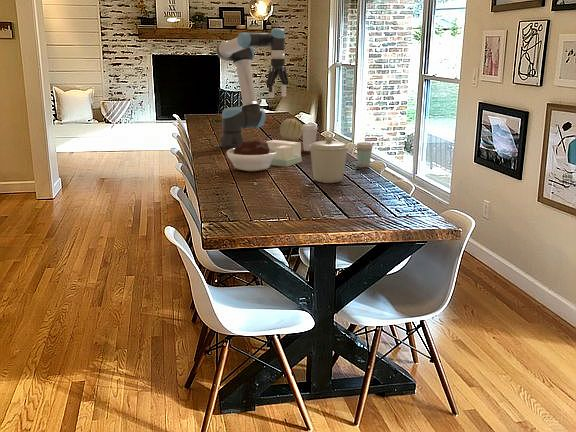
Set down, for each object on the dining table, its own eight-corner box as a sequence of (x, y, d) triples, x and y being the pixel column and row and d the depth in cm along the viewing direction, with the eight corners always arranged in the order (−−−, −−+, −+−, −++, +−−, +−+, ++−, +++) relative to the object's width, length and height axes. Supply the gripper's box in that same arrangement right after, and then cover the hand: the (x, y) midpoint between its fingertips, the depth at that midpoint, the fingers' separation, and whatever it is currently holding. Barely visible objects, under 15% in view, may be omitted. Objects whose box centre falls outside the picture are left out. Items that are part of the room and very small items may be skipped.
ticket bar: (265, 155, 351) (265, 141, 349) (273, 153, 358) (273, 139, 356) (293, 159, 343) (293, 144, 340) (300, 156, 349) (300, 142, 347)
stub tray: (266, 164, 328) (266, 158, 327) (281, 159, 341) (281, 153, 340) (286, 166, 322) (286, 160, 321) (301, 161, 335) (301, 156, 334)
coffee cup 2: (373, 165, 326) (374, 142, 323) (369, 168, 319) (371, 145, 315) (357, 164, 329) (358, 141, 326) (353, 167, 321) (354, 144, 318)
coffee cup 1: (315, 152, 364) (316, 126, 360) (299, 151, 366) (300, 125, 362) (318, 149, 373) (318, 124, 369) (302, 148, 375) (303, 123, 371)
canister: (336, 187, 278) (337, 139, 272) (301, 182, 287) (301, 136, 281) (354, 180, 292) (355, 134, 287) (320, 175, 302) (321, 131, 296)
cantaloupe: (276, 142, 398) (276, 118, 394) (284, 139, 412) (285, 116, 407) (297, 143, 393) (298, 119, 389) (306, 140, 406) (306, 117, 402)
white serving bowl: (238, 176, 297) (238, 145, 293) (219, 167, 318) (218, 138, 314) (285, 172, 308) (285, 141, 304) (263, 163, 330) (263, 135, 325)
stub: (274, 162, 329) (274, 147, 327) (282, 160, 336) (282, 145, 334) (284, 163, 326) (284, 148, 324) (292, 161, 333) (292, 146, 331)
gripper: (271, 58, 334) (271, 99, 339) (294, 57, 354) (294, 95, 360) (259, 58, 337) (260, 98, 343) (283, 57, 358) (283, 95, 364)
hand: (277, 97), depth 351 cm, fingers open, 13 cm apart
